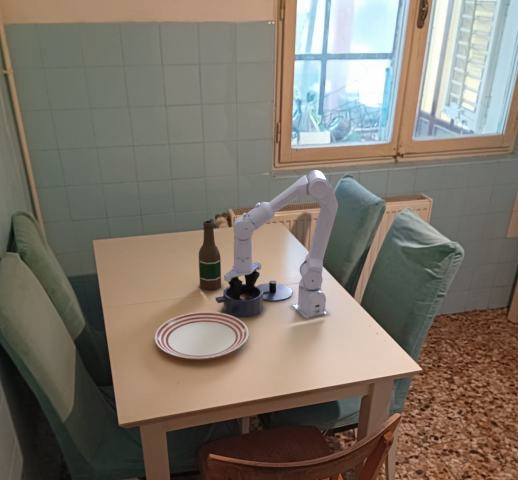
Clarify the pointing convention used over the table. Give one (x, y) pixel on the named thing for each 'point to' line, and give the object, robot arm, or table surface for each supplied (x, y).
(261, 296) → the pot
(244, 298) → the block
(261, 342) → the table surface
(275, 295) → the lid
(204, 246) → the beer bottle
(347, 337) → the table surface
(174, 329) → the dinner plate
